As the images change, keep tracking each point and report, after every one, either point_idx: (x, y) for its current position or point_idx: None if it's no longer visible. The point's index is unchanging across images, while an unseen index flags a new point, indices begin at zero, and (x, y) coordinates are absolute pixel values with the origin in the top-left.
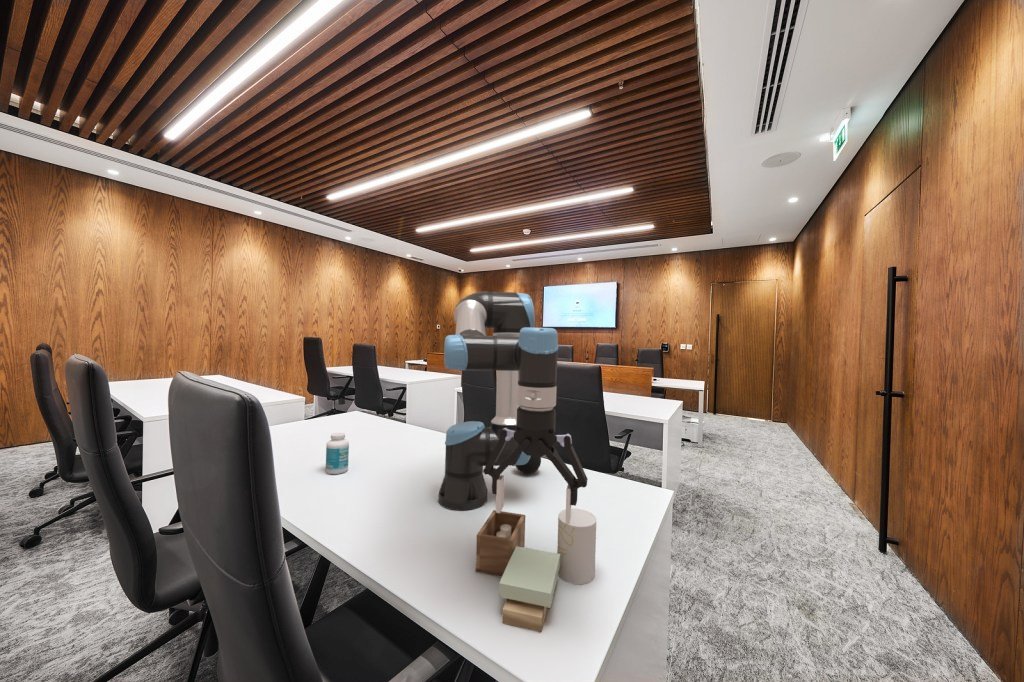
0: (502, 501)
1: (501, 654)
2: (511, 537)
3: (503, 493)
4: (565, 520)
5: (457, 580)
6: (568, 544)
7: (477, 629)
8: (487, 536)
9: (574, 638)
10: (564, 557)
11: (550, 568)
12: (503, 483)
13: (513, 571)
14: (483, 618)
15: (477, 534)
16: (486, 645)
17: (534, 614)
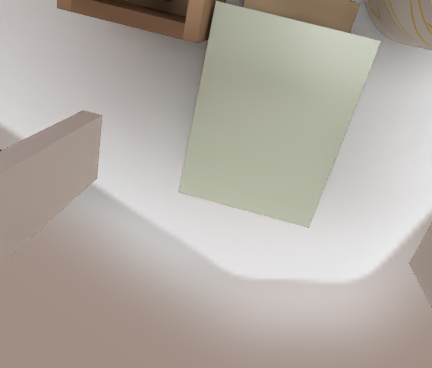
0: (81, 150)
1: (209, 247)
2: (190, 13)
3: (60, 148)
4: (414, 272)
5: (79, 52)
6: (426, 42)
7: (160, 199)
8: (98, 15)
9: (349, 219)
10: (396, 28)
11: (326, 127)
12: (17, 180)
13: (212, 146)
14: (166, 173)
15: (59, 3)
16: (182, 231)
17: None
